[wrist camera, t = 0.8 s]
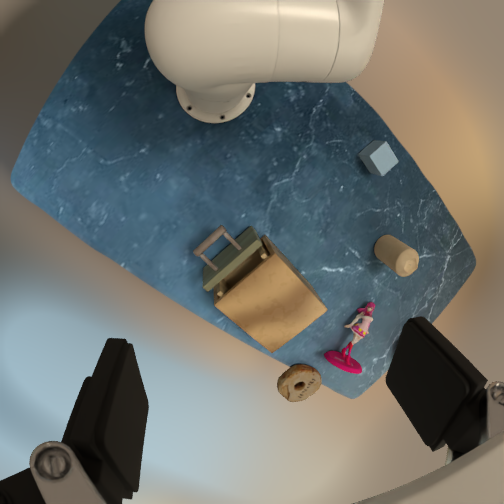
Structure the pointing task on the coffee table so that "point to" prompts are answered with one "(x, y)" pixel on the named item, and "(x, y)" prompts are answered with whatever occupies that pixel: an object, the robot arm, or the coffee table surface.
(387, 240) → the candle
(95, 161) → the coffee table surface
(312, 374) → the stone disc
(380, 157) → the block
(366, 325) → the figurine
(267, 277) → the cabinet
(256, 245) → the drawer
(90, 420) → the robot arm
